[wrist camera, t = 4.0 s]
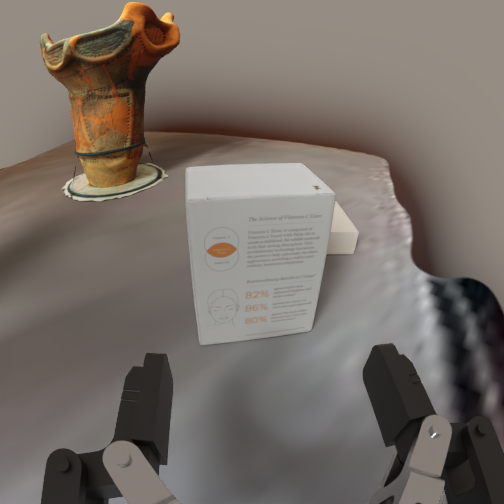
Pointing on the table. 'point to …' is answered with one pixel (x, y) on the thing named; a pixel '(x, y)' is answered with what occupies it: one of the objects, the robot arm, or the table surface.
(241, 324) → the small box
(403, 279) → the table surface
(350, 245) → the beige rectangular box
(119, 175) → the decorative vase
